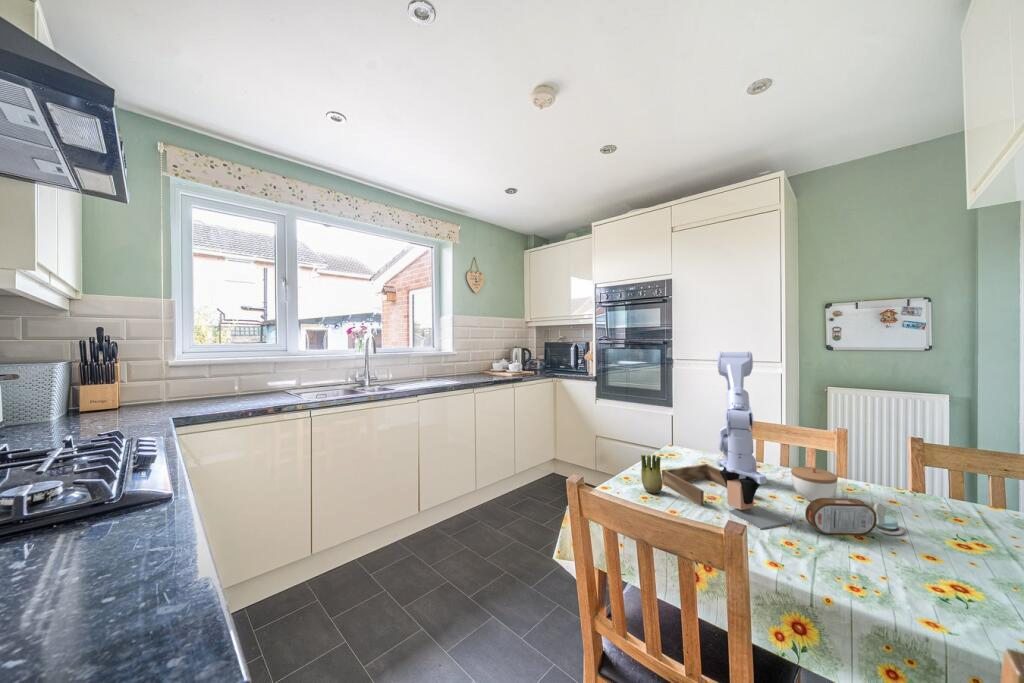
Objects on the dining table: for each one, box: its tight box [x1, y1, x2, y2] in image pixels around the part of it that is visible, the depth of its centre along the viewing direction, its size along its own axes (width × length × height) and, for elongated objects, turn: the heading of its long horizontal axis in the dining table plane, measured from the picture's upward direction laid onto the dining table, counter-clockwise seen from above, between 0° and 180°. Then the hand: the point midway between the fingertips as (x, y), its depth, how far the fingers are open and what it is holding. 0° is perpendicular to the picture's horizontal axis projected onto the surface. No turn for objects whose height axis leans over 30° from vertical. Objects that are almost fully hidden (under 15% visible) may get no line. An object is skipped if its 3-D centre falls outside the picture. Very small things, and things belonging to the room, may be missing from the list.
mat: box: [728, 505, 793, 530], centre depth 100 cm, size 10×10×1 cm
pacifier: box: [873, 502, 905, 536], centre depth 92 cm, size 7×6×6 cm
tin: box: [805, 497, 877, 536], centre depth 91 cm, size 15×3×8 cm, turn 84°
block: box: [726, 479, 755, 510], centre depth 105 cm, size 4×4×6 cm
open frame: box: [661, 463, 740, 507], centre depth 118 cm, size 18×18×4 cm
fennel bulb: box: [640, 453, 663, 495], centre depth 118 cm, size 6×5×12 cm
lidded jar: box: [790, 466, 838, 503], centre depth 110 cm, size 11×11×9 cm
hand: (740, 499), depth 105 cm, fingers closed on block, 4 cm apart
